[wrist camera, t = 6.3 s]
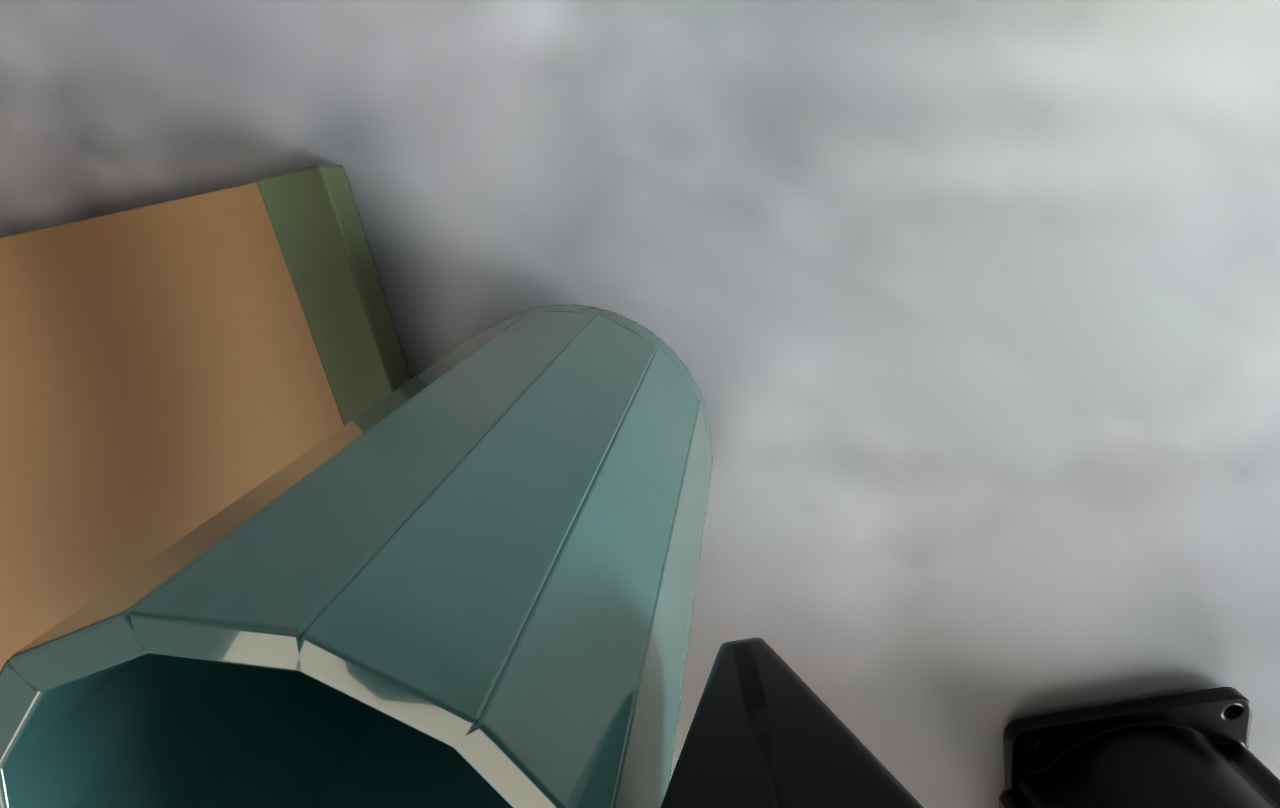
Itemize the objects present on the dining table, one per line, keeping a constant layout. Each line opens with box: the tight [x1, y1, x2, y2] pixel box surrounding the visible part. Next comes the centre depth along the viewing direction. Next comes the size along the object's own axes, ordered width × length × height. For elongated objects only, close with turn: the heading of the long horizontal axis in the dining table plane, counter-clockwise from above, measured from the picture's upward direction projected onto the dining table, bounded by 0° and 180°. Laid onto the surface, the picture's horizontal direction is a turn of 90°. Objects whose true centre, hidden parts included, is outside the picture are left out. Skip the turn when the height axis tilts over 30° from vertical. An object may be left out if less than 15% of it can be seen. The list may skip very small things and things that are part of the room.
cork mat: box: [0, 165, 411, 672], centre depth 17 cm, size 13×14×1 cm
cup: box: [0, 305, 713, 808], centre depth 11 cm, size 6×6×11 cm
